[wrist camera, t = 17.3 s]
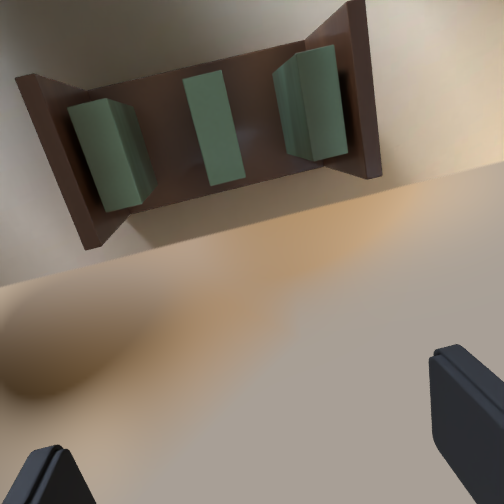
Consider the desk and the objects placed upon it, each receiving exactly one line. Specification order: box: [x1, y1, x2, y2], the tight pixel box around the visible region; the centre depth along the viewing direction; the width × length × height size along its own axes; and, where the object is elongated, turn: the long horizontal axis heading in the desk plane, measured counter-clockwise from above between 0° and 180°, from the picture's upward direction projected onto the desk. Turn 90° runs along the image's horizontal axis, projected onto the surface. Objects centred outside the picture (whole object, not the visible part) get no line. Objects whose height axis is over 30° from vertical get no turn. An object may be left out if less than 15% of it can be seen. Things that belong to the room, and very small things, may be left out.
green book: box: [182, 70, 246, 186], centre depth 29 cm, size 3×7×9 cm, turn 13°
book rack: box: [15, 0, 382, 250], centre depth 29 cm, size 21×11×11 cm, turn 103°
